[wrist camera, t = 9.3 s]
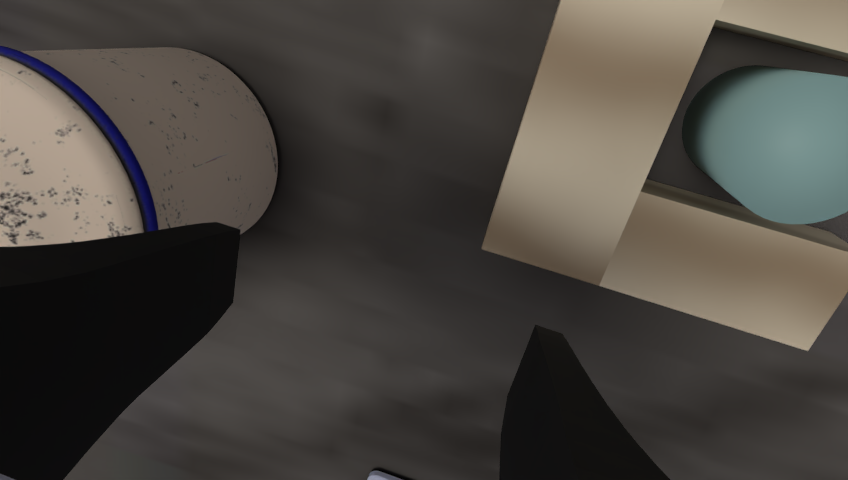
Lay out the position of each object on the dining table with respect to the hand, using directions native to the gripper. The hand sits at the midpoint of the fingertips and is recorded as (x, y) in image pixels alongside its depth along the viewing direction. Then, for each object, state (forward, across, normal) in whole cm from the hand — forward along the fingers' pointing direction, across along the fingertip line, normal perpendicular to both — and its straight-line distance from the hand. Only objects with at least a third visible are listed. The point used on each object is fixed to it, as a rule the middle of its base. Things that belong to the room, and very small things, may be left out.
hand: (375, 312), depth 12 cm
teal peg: (+10, -10, -6) cm, 15 cm away
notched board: (+10, -8, -6) cm, 14 cm away
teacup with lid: (+11, +12, +3) cm, 16 cm away
